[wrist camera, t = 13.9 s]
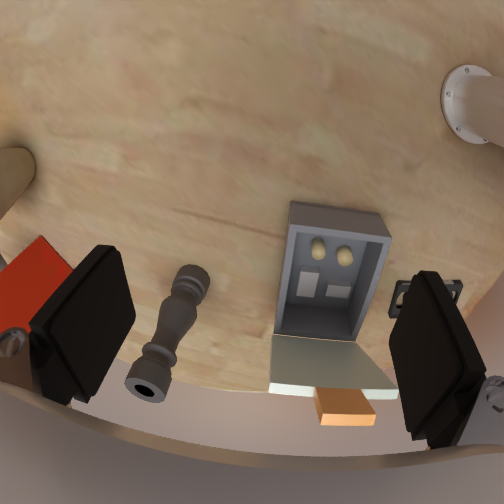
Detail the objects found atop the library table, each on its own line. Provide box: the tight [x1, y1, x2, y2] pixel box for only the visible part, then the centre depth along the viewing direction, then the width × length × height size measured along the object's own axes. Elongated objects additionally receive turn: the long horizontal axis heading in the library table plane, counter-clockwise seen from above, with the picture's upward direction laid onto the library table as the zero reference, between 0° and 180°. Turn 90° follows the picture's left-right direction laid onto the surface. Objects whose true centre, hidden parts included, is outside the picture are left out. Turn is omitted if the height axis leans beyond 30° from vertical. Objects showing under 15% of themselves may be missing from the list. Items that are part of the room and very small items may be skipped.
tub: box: [273, 201, 392, 341], centre depth 48 cm, size 14×20×8 cm
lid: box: [268, 335, 399, 426], centre depth 36 cm, size 14×26×2 cm
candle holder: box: [125, 264, 210, 403], centre depth 46 cm, size 6×6×25 cm
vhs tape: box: [388, 280, 463, 318], centre depth 52 cm, size 14×8×2 cm, turn 93°
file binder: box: [0, 236, 73, 334], centre depth 47 cm, size 8×17×32 cm, turn 40°
